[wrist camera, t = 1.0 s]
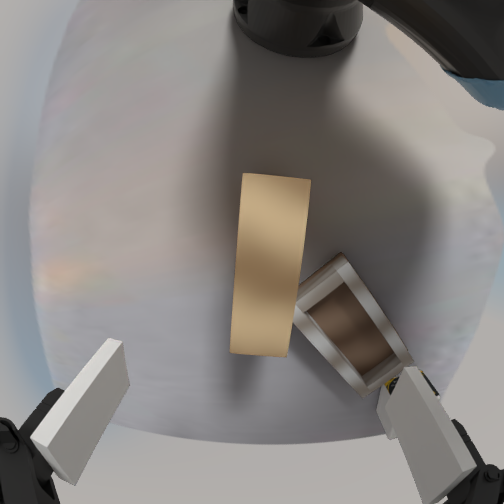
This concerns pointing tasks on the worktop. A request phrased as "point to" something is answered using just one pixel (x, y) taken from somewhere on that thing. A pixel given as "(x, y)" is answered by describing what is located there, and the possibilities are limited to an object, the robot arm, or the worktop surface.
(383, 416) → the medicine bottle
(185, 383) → the worktop surface
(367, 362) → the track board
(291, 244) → the door slab
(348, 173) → the worktop surface
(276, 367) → the worktop surface
